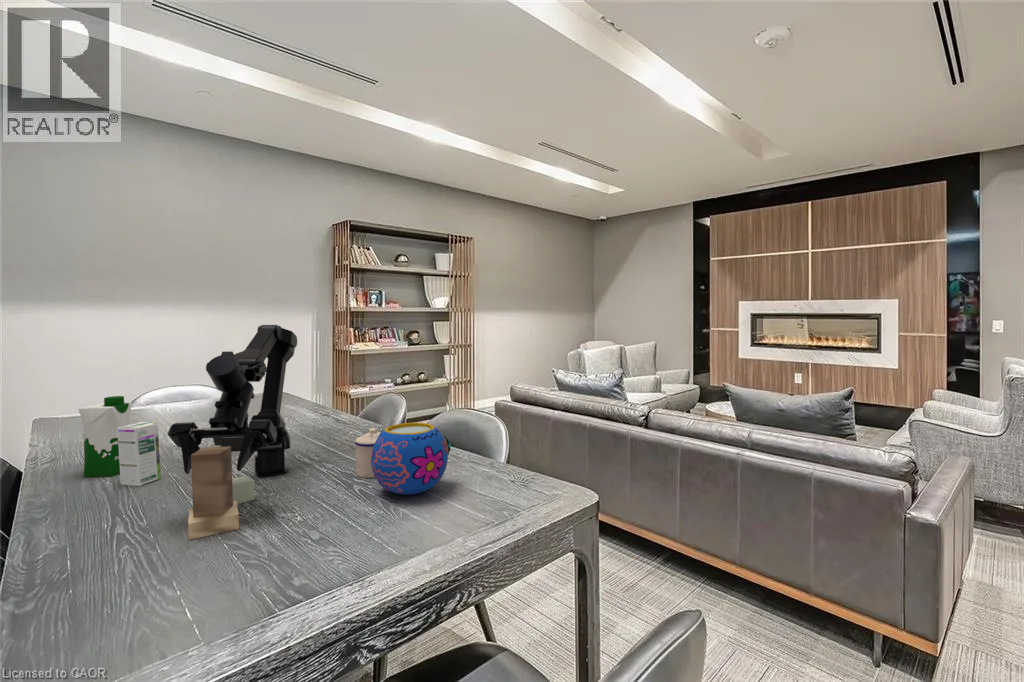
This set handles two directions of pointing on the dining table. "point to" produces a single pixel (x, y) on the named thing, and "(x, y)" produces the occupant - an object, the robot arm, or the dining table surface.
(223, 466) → the walnut block
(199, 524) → the oak slab
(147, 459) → the syrup box
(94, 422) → the milk carton
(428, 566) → the dining table surface
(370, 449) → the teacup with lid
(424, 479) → the ceramic pot
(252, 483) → the sage cube
